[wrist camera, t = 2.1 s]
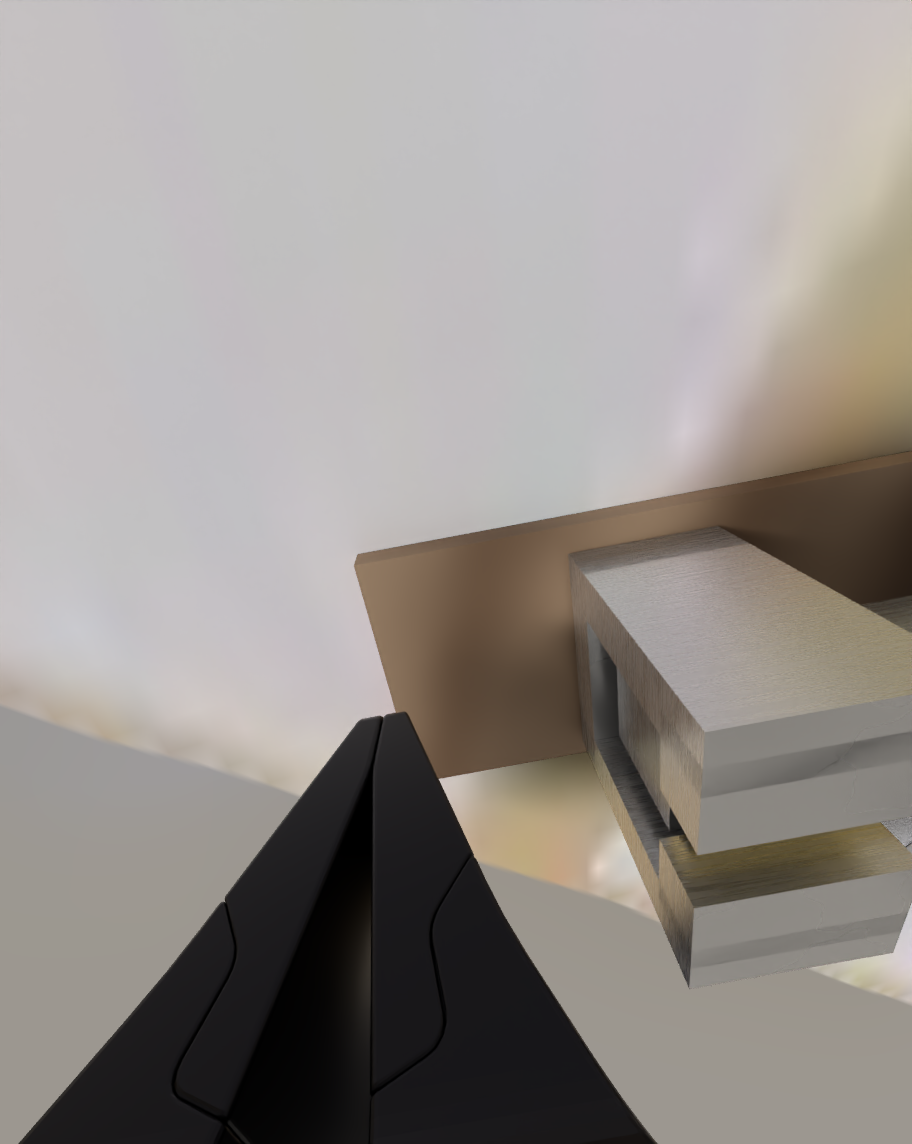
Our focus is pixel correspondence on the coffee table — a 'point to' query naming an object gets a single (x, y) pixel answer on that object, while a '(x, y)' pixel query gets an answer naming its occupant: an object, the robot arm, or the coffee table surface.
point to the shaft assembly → (646, 739)
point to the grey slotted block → (750, 750)
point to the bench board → (544, 603)
